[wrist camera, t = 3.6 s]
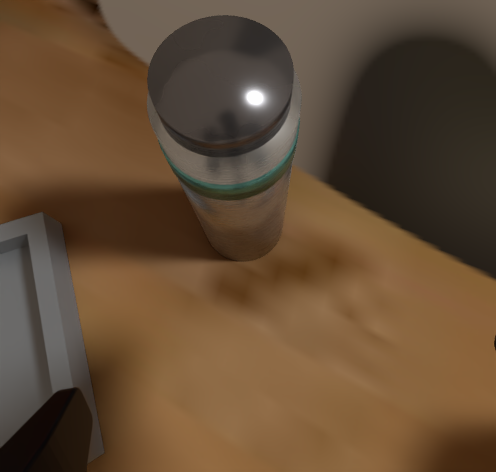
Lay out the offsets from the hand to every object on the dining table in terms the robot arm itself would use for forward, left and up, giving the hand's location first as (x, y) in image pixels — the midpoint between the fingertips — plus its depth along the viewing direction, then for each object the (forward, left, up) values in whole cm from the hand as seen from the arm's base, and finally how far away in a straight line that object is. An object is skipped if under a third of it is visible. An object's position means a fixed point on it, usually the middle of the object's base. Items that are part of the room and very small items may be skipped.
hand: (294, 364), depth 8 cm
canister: (+8, -1, -13) cm, 15 cm away
